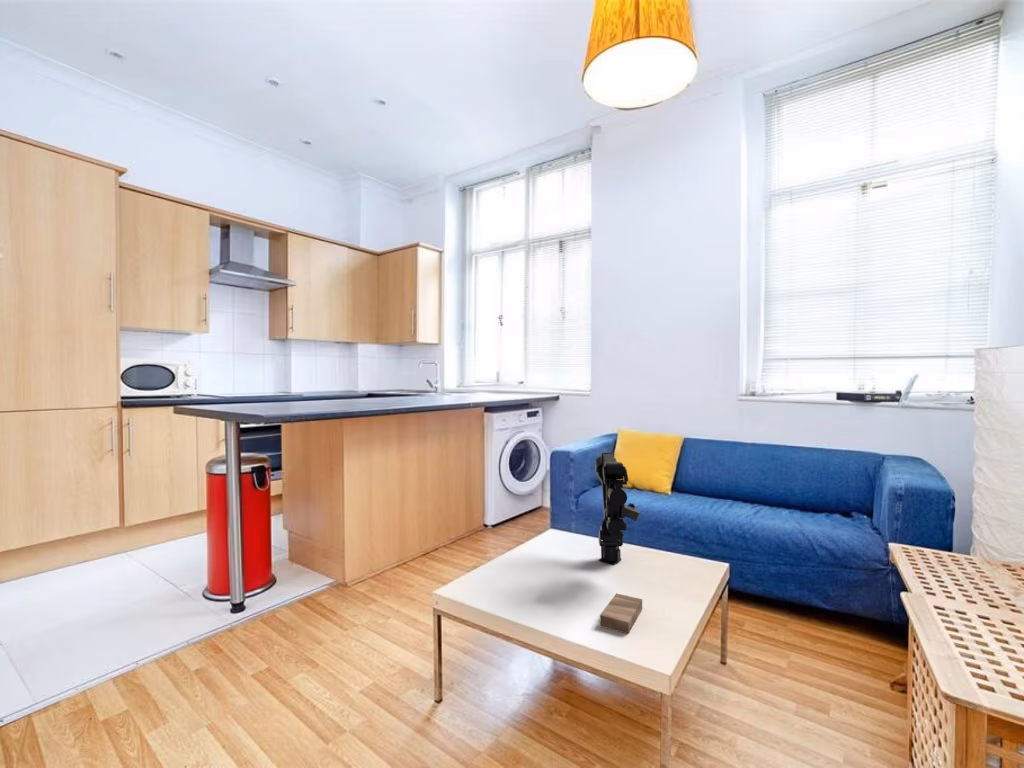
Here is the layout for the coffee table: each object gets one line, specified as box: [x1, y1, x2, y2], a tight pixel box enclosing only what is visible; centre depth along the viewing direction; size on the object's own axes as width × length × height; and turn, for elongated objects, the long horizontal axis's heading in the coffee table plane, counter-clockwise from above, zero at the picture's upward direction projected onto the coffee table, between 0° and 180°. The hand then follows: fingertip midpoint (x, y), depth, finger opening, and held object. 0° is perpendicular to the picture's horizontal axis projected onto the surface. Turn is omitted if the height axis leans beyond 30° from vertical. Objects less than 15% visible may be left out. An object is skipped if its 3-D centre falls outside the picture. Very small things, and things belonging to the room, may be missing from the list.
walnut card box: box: [599, 592, 643, 635], centre depth 129 cm, size 4×8×15 cm
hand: (615, 542), depth 157 cm, fingers closed
